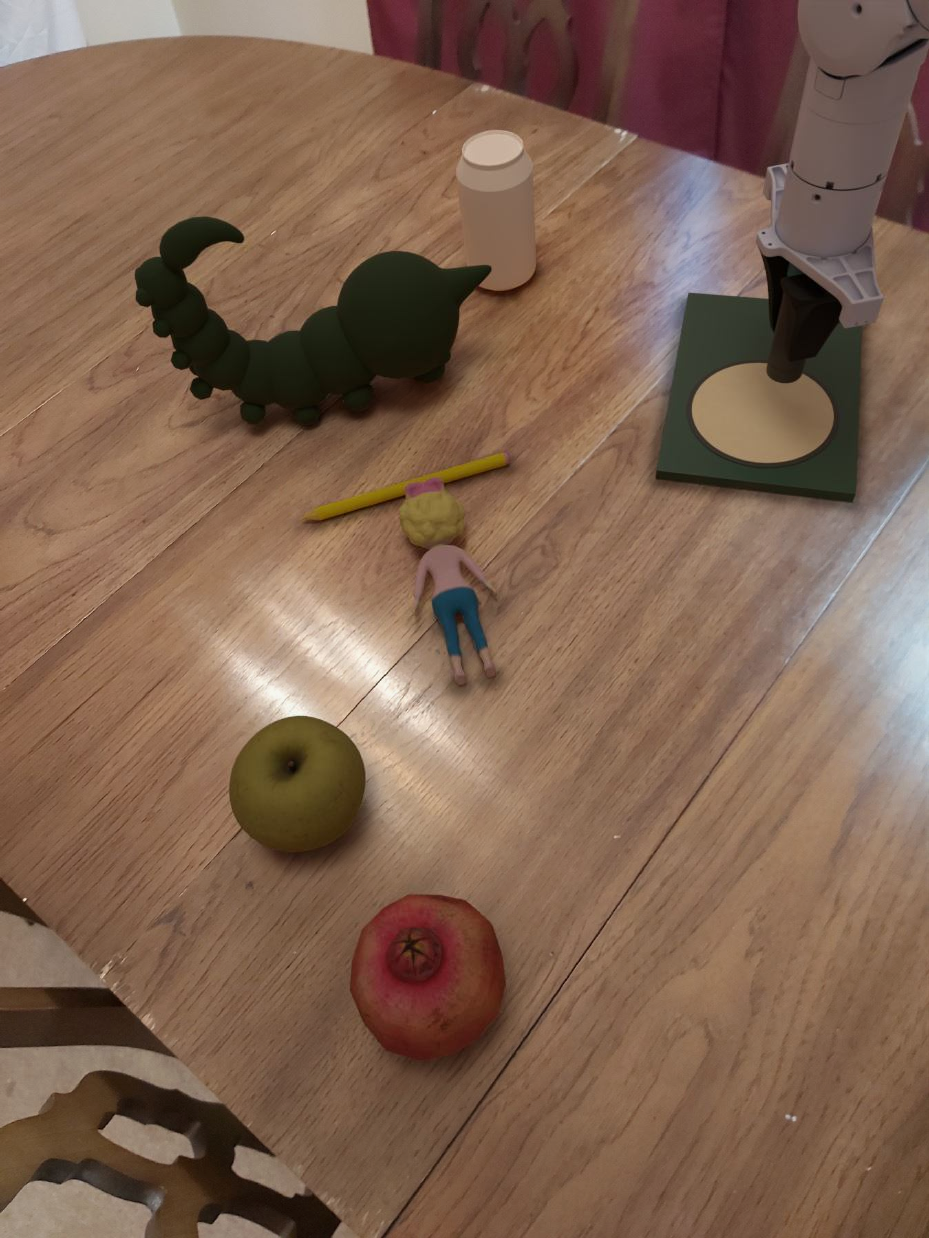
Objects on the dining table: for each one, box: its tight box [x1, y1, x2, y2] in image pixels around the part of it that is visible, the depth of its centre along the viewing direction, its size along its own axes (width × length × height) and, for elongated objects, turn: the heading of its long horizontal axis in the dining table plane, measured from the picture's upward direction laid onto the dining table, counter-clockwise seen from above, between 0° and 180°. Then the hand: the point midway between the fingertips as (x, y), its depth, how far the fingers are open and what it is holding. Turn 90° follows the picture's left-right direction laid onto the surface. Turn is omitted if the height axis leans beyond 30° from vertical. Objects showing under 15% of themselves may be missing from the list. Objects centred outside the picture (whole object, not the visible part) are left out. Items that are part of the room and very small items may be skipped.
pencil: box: [299, 451, 510, 521], centre depth 71 cm, size 16×1×1 cm, turn 107°
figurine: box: [398, 477, 498, 686], centre depth 64 cm, size 6×4×15 cm
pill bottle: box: [766, 263, 806, 383], centre depth 65 cm, size 3×3×10 cm
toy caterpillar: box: [134, 215, 492, 427], centre depth 70 cm, size 9×19×25 cm
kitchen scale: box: [655, 292, 863, 503], centre depth 73 cm, size 20×14×1 cm
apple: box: [228, 715, 367, 853], centre depth 55 cm, size 8×8×7 cm
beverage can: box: [455, 129, 537, 292], centre depth 79 cm, size 6×6×12 cm
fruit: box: [349, 894, 507, 1062], centre depth 47 cm, size 8×8×10 cm
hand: (793, 341), depth 67 cm, fingers closed on pill bottle, 2 cm apart
